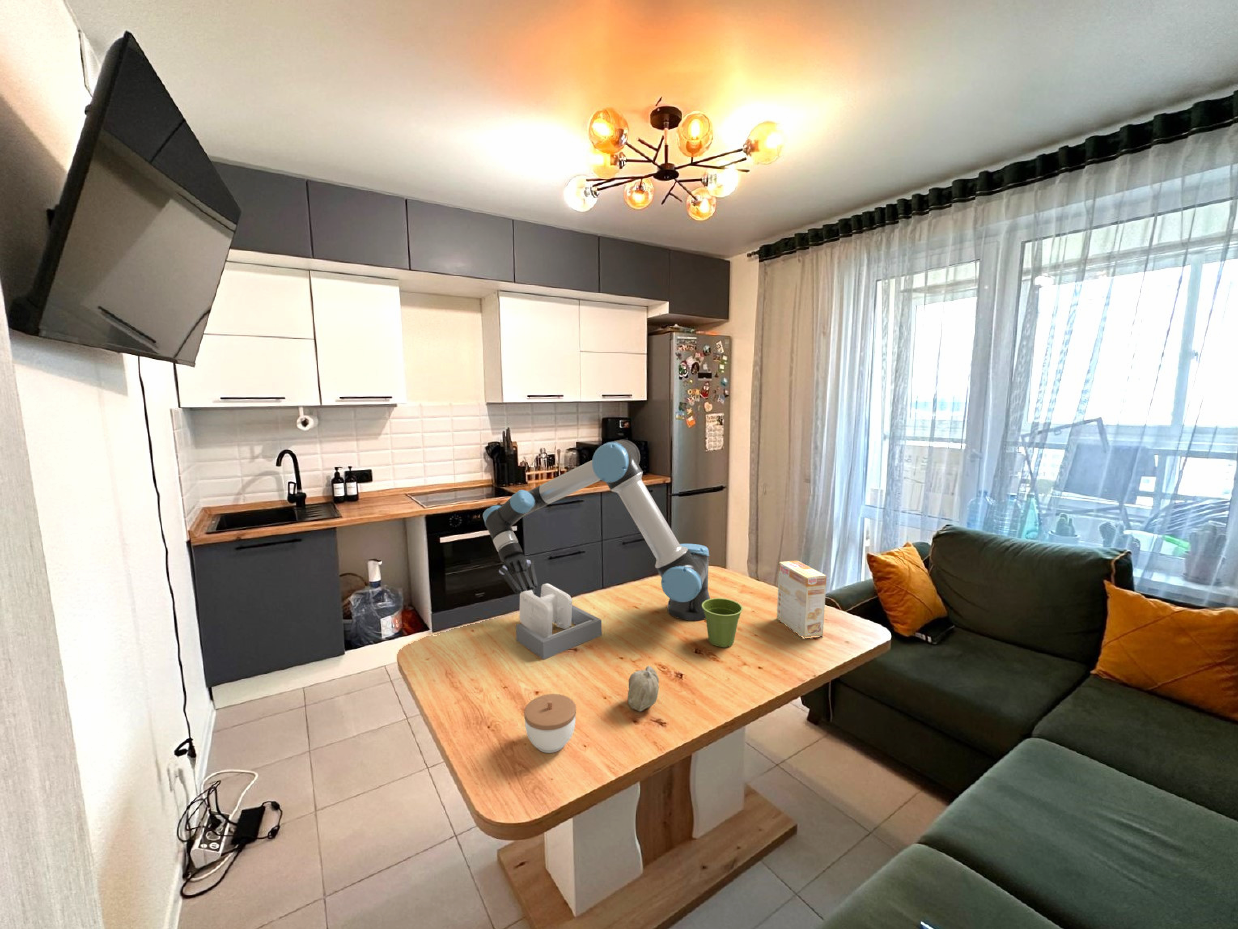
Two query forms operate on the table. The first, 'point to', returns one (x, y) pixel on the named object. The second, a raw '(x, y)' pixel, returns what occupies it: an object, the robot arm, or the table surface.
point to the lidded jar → (550, 721)
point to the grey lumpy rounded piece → (643, 689)
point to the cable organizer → (545, 610)
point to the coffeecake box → (801, 598)
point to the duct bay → (561, 635)
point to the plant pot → (721, 620)
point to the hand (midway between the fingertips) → (536, 610)
